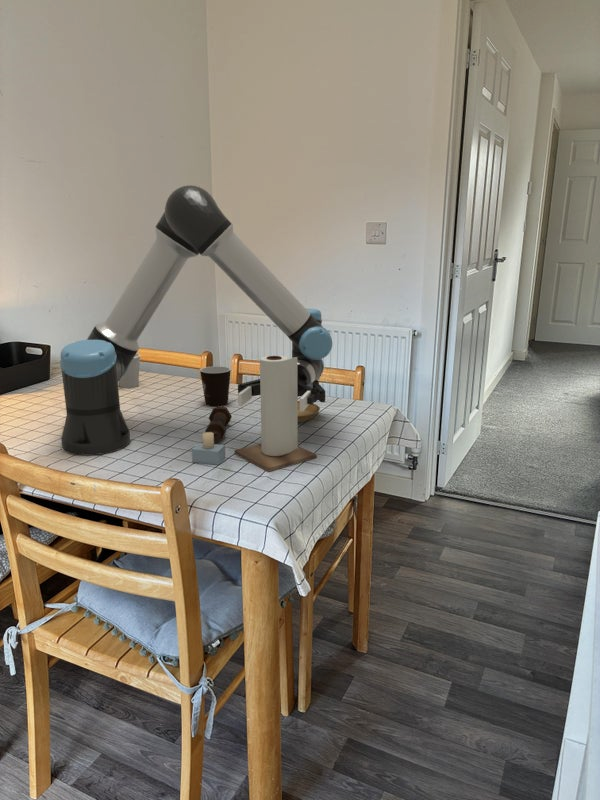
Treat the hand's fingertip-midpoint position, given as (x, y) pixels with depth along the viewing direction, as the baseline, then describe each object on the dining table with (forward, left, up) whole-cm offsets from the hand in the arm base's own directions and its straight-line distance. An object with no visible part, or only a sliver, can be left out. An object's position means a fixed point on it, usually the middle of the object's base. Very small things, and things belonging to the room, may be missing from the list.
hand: (270, 402), depth 123 cm
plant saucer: (+23, +22, -14) cm, 35 cm away
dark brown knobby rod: (0, +22, -14) cm, 26 cm away
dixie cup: (+1, +79, -13) cm, 81 cm away
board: (+3, +2, -13) cm, 14 cm away
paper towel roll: (+3, +2, -13) cm, 13 cm away
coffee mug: (+14, +46, -13) cm, 50 cm away
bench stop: (-10, +9, -13) cm, 19 cm away
